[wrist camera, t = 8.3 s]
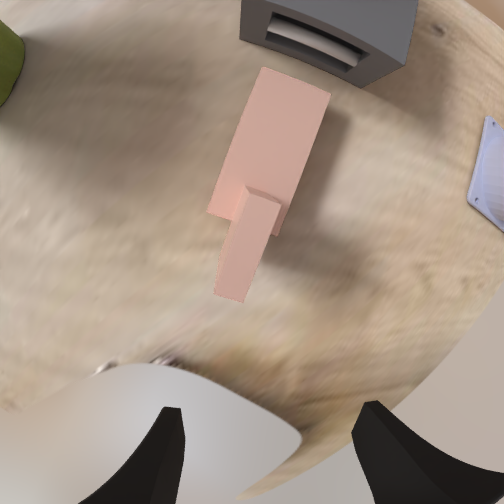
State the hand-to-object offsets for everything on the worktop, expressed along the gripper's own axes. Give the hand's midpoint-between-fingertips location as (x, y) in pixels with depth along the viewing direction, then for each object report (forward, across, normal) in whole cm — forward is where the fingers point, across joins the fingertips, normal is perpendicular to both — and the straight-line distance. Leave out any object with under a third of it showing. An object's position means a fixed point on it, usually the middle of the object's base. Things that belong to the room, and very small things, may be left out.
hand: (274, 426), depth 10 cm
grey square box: (+9, -3, -20) cm, 22 cm away
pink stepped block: (+8, 0, -9) cm, 12 cm away
